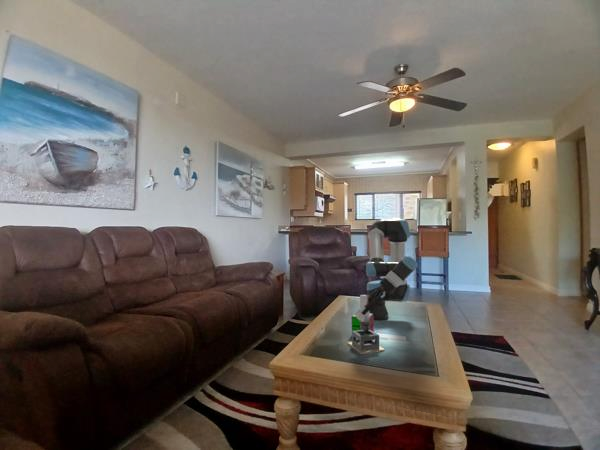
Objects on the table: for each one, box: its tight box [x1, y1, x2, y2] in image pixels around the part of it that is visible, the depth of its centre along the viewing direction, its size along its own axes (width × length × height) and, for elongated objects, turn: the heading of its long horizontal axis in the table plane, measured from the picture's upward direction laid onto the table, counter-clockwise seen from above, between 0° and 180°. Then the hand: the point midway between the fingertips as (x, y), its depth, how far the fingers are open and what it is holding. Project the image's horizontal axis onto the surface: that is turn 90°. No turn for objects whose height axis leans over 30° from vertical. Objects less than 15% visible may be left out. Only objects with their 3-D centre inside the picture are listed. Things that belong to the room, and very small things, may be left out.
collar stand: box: [347, 330, 385, 355], centre depth 145 cm, size 14×12×7 cm
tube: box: [359, 294, 370, 331], centre depth 145 cm, size 4×4×16 cm
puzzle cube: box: [351, 313, 375, 336], centre depth 166 cm, size 10×10×10 cm
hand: (356, 317), depth 145 cm, fingers closed on tube, 4 cm apart
